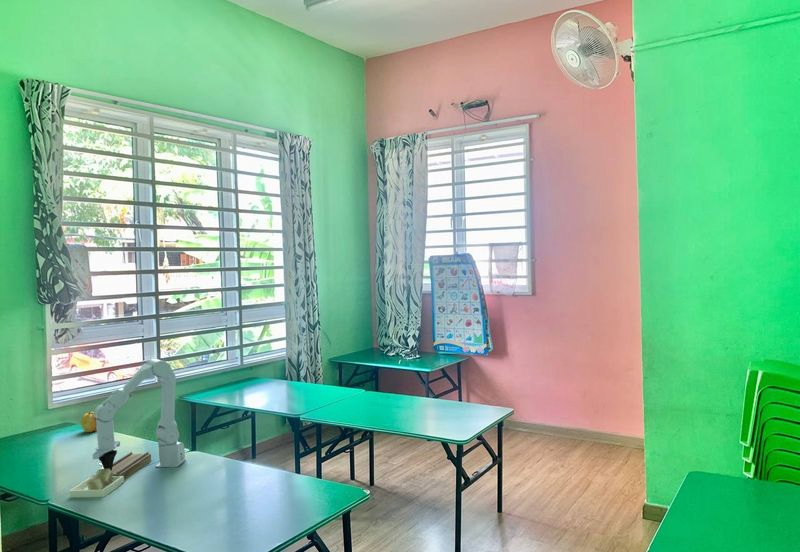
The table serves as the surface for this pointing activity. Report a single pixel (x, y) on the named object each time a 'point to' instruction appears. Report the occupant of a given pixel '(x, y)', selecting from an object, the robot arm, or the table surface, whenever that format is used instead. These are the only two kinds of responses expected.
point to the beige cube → (105, 475)
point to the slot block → (130, 464)
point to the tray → (83, 490)
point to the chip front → (95, 482)
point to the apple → (89, 422)
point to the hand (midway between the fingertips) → (108, 470)
